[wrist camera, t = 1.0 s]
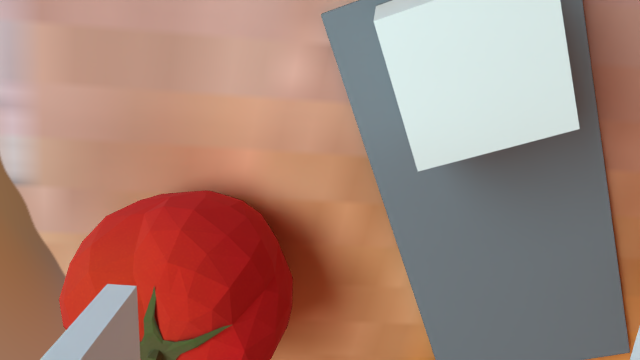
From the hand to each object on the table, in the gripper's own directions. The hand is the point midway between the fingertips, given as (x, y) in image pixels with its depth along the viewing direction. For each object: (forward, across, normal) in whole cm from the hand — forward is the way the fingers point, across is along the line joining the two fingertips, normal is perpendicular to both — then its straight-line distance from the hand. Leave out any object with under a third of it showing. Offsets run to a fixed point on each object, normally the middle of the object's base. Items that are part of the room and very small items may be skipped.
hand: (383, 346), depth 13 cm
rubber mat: (+18, +9, -2) cm, 20 cm away
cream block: (+17, +5, +8) cm, 19 cm away
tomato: (+21, -9, -7) cm, 24 cm away
